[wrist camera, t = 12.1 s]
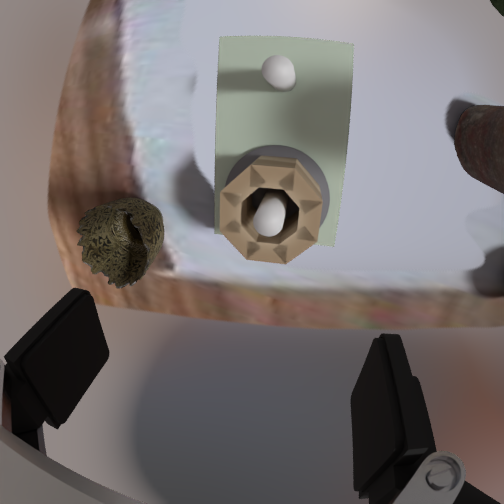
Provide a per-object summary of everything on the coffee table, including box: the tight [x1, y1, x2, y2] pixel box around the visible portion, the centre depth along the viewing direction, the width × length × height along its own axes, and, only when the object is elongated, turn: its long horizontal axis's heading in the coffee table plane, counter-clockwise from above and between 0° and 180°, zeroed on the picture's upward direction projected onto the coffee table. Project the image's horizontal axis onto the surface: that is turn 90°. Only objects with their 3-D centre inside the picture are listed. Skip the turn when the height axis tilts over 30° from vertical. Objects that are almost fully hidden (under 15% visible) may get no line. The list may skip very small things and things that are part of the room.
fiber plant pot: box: [77, 198, 164, 288], centre depth 27 cm, size 8×7×8 cm
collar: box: [220, 155, 323, 264], centre depth 23 cm, size 7×7×5 cm
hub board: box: [214, 36, 354, 247], centre depth 22 cm, size 18×11×8 cm, turn 177°
